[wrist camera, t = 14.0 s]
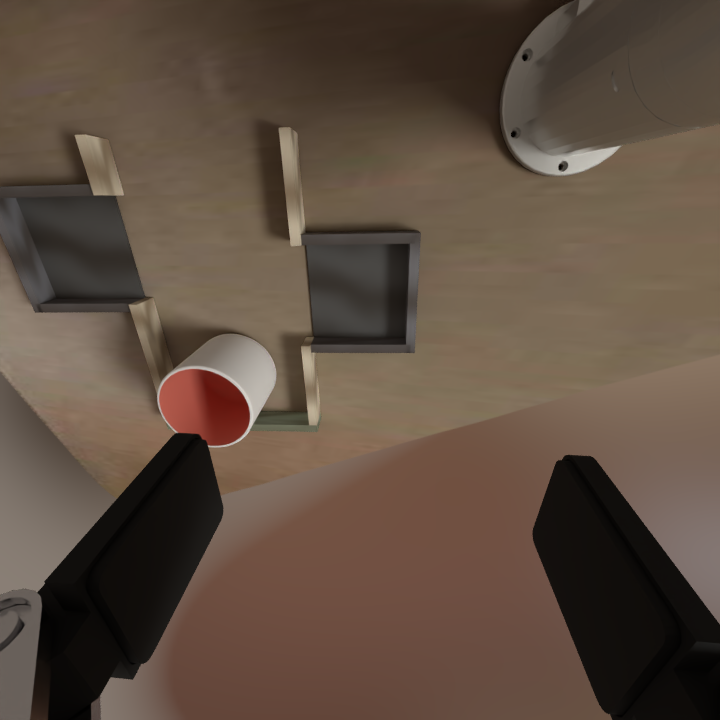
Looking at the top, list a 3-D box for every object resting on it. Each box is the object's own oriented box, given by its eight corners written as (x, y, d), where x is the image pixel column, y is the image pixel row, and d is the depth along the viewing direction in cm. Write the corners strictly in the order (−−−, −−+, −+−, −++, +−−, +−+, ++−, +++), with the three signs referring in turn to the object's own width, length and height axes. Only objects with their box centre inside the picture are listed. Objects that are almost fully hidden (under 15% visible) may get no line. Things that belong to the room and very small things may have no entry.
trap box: (-14, 143, 35) (-48, 139, 32) (423, 128, 32) (427, 122, 30) (98, 415, 49) (82, 427, 46) (408, 419, 46) (410, 433, 44)
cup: (189, 337, 43) (138, 374, 34) (264, 323, 42) (232, 358, 33) (219, 404, 47) (181, 453, 38) (288, 393, 46) (265, 441, 37)
